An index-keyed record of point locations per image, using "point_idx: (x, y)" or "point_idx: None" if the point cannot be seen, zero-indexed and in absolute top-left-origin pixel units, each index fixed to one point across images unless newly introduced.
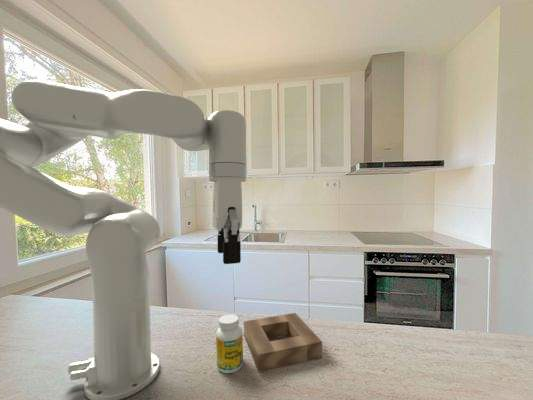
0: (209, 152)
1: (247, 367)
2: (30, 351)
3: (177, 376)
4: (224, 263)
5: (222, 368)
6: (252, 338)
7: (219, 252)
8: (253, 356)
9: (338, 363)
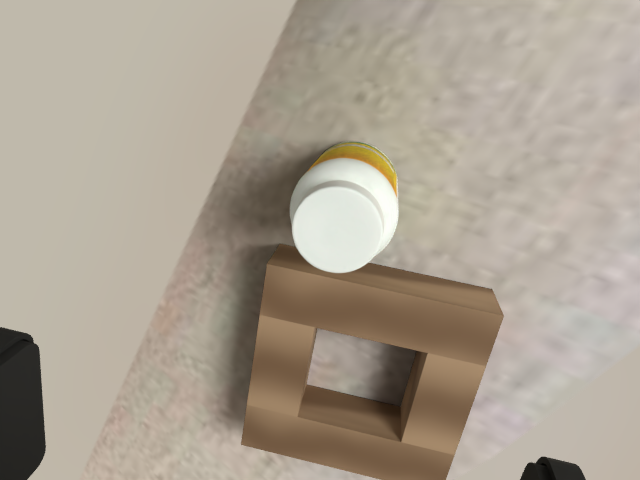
0: None
1: None
2: None
3: (389, 2)
4: (3, 331)
5: (325, 151)
6: (362, 289)
7: (528, 467)
8: None
9: (220, 425)
